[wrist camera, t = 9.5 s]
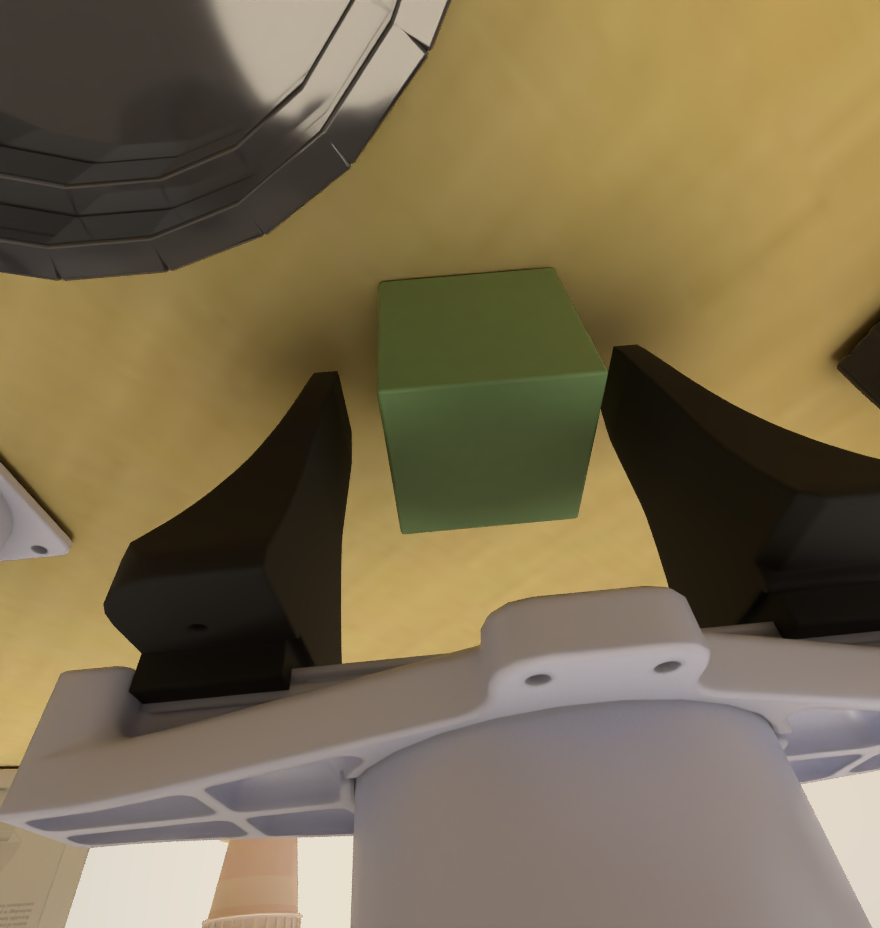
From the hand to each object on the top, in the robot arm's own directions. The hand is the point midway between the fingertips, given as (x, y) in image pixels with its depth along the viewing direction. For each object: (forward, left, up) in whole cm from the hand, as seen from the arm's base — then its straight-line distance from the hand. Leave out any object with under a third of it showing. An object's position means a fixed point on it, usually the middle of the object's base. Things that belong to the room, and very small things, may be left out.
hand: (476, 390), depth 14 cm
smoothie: (-16, -37, -2) cm, 40 cm away
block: (0, 0, -2) cm, 2 cm away
